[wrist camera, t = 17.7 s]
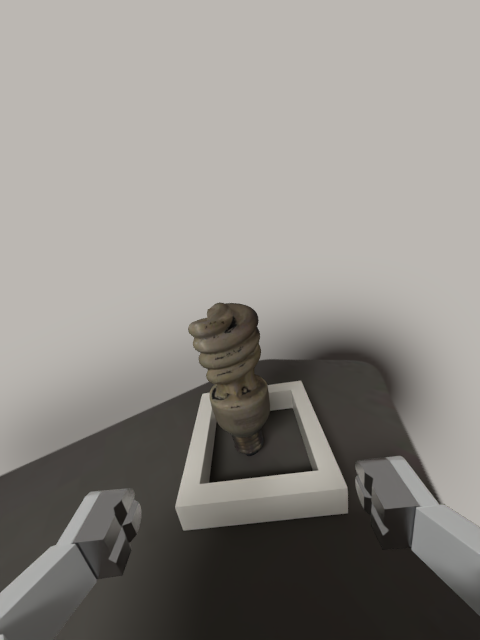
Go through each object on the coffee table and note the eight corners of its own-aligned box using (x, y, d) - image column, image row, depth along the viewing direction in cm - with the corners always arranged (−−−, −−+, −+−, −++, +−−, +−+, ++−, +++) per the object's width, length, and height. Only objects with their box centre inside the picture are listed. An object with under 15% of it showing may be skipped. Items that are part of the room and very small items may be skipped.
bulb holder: (183, 530, 18) (175, 507, 17) (206, 410, 30) (202, 393, 29) (348, 513, 17) (347, 488, 16) (302, 398, 29) (301, 380, 29)
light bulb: (236, 490, 20) (199, 320, 15) (210, 447, 24) (175, 307, 20) (288, 453, 22) (270, 298, 18) (255, 421, 27) (233, 291, 22)
